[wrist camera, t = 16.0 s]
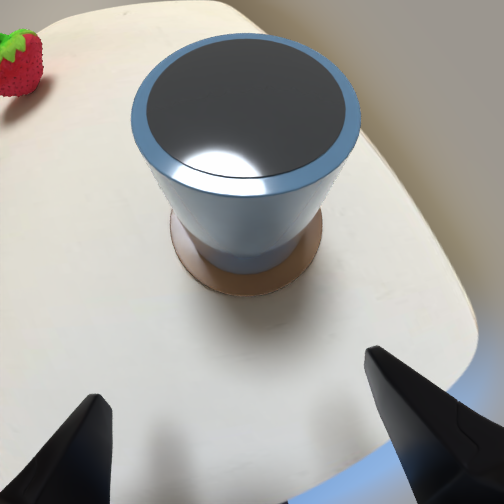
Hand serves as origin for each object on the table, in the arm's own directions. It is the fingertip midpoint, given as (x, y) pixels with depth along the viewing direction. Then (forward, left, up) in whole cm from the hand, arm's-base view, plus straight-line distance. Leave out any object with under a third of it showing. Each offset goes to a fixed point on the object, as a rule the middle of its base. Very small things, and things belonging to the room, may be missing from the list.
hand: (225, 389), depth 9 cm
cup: (+8, -3, -7) cm, 11 cm away
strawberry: (+31, +13, -8) cm, 34 cm away
